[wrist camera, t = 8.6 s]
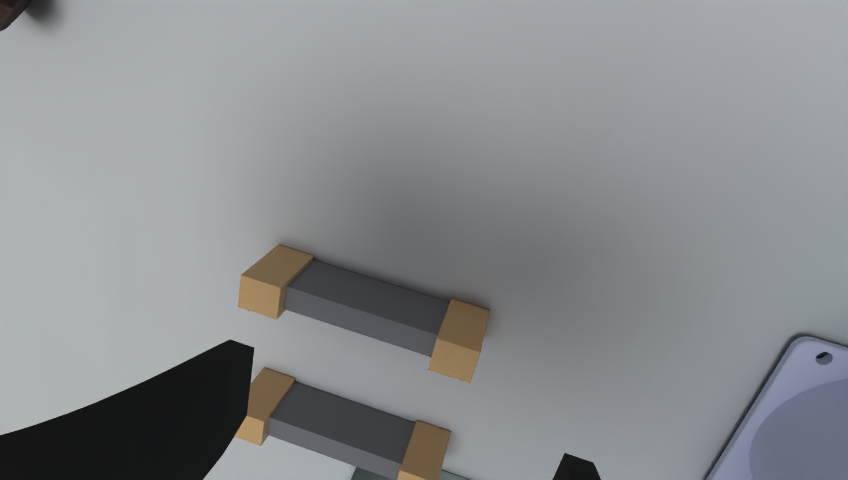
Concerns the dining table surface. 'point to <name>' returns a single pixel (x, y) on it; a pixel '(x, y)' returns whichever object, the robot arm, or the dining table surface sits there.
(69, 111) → the dining table surface
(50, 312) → the dining table surface
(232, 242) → the dining table surface
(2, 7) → the wooden chess piece
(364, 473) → the tray
